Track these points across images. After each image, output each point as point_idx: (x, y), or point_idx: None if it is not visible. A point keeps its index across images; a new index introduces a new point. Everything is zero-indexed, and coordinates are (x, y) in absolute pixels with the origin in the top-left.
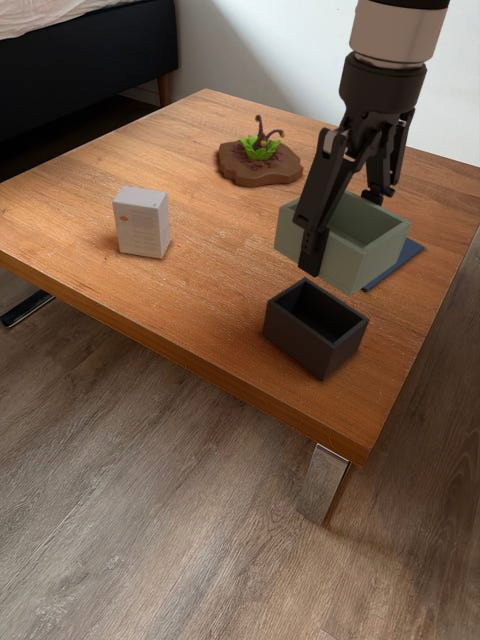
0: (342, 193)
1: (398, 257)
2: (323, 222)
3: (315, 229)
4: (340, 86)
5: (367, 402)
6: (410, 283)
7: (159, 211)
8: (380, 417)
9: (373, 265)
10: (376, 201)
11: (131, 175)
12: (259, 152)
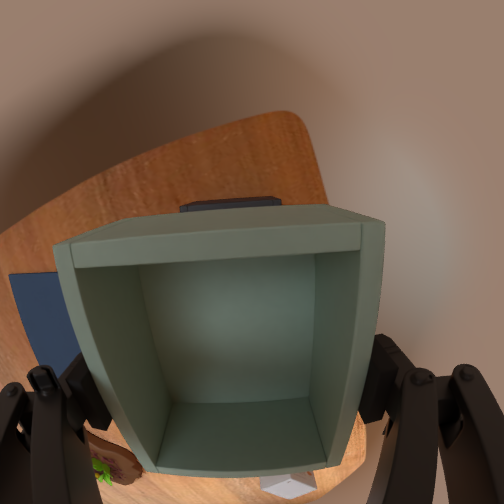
0: (400, 477)
1: (37, 283)
2: (431, 389)
3: (454, 371)
4: None
5: (250, 139)
6: (50, 244)
7: (286, 475)
8: (255, 116)
9: (258, 213)
10: (89, 384)
11: (224, 494)
12: (99, 467)
